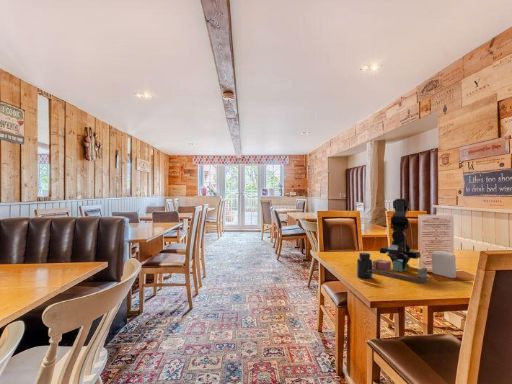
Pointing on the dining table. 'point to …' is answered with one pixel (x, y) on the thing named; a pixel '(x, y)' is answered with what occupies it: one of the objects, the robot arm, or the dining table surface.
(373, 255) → the dining table surface
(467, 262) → the dining table surface
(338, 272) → the dining table surface
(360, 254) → the supplement bottle
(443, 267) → the photo printer
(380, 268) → the pink block
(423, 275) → the bookend
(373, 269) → the shelf board
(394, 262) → the teal block
